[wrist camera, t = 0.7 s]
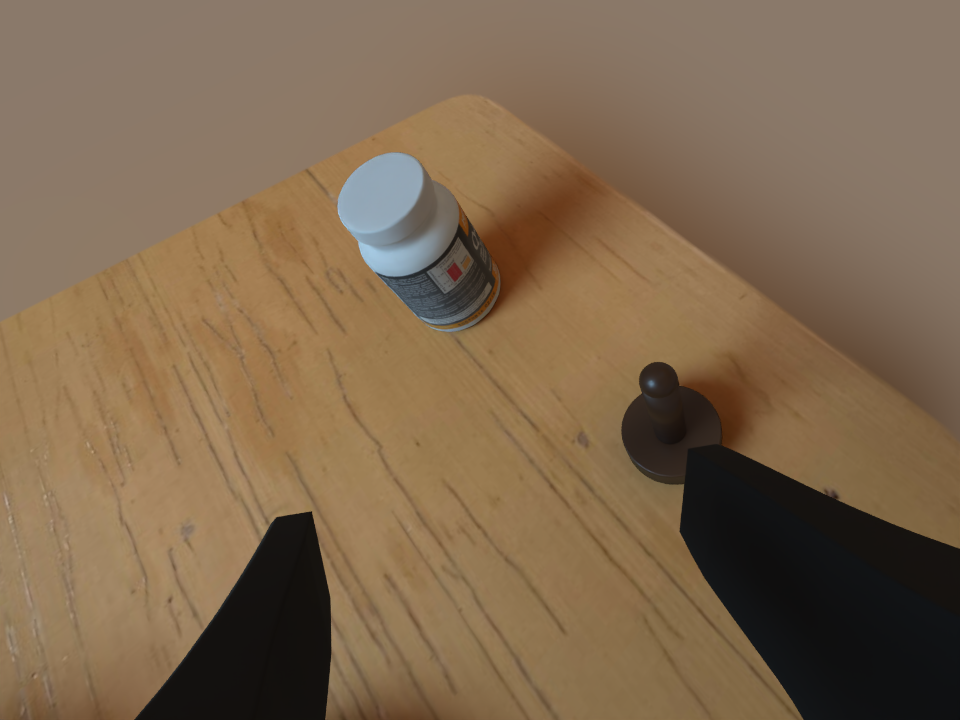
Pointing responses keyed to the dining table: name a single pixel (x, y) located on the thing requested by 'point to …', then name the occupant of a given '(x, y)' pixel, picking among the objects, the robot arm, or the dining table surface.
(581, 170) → the dining table surface
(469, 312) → the pill bottle
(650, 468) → the joystick
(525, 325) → the dining table surface
